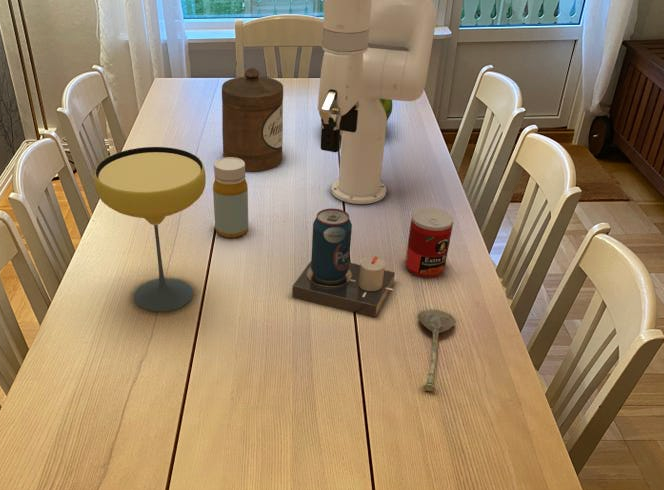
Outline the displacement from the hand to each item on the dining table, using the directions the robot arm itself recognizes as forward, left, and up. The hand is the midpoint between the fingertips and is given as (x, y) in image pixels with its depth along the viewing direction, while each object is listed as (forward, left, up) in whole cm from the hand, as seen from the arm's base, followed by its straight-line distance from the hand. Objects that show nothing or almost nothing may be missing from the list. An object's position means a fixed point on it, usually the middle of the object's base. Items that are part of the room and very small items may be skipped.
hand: (338, 140), depth 128 cm
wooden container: (-37, -34, -24) cm, 56 cm away
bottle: (-2, -23, -24) cm, 34 cm away
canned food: (-4, +18, -24) cm, 31 cm away
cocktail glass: (+25, -24, -24) cm, 42 cm away
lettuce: (-62, -16, -24) cm, 69 cm away
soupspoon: (+21, +26, -24) cm, 41 cm away
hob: (+10, +6, -24) cm, 27 cm away
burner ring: (+10, +3, -22) cm, 24 cm away
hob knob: (+10, +11, -22) cm, 26 cm away
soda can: (+10, +3, -22) cm, 24 cm away
